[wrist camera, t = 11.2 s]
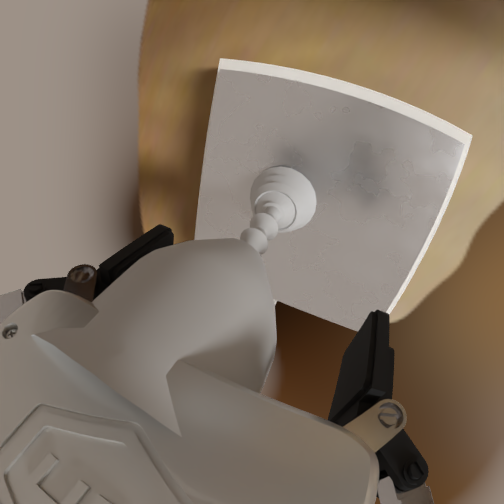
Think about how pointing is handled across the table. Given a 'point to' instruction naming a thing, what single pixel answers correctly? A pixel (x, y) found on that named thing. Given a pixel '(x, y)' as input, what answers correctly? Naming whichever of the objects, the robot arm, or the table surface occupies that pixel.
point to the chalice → (193, 306)
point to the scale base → (368, 96)
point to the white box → (327, 189)
